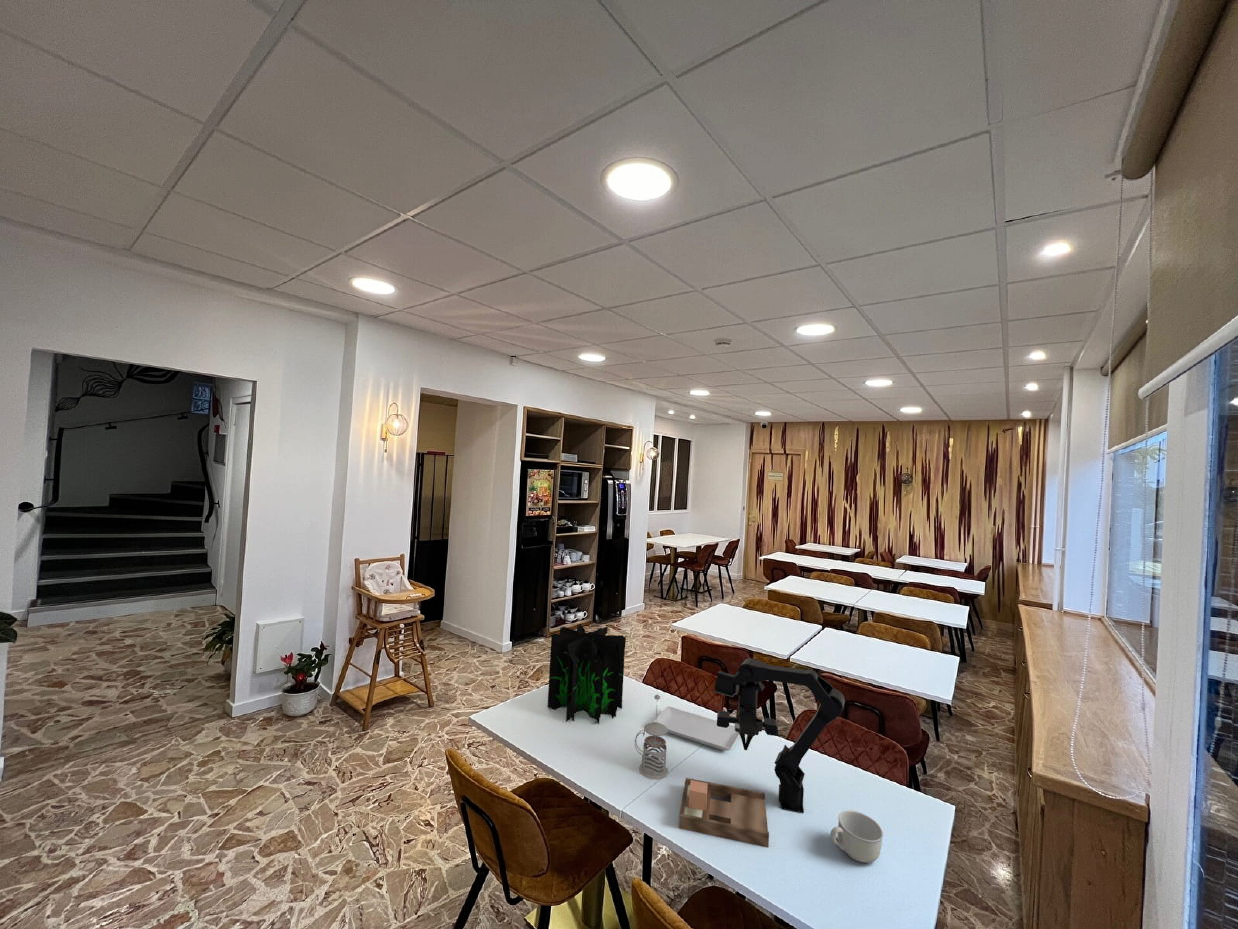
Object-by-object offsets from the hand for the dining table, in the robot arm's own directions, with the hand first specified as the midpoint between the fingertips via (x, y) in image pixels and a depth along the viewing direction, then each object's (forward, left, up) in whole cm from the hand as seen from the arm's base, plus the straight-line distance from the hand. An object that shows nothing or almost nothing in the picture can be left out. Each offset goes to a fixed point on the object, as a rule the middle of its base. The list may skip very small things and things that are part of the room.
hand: (745, 749), depth 158 cm
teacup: (-28, +20, -12) cm, 37 cm away
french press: (+30, 0, -12) cm, 32 cm away
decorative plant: (+64, -35, -12) cm, 74 cm away
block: (+13, +16, -10) cm, 23 cm away
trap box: (+6, +16, -12) cm, 20 cm away
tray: (+17, -28, -13) cm, 36 cm away
